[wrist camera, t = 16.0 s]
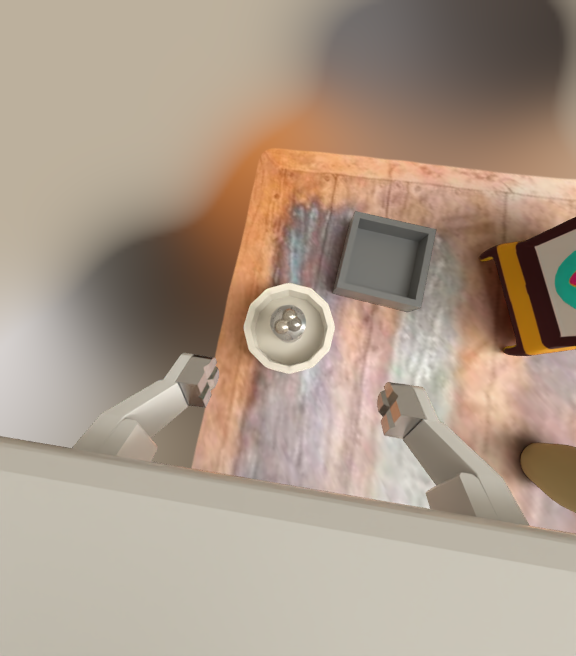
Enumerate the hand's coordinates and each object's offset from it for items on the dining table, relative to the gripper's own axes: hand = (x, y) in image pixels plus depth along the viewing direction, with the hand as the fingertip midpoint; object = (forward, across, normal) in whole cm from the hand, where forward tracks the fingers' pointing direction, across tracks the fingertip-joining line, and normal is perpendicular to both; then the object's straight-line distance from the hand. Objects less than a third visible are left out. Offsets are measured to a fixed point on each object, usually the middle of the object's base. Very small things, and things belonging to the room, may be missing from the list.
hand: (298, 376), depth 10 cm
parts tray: (+30, -12, +6) cm, 33 cm away
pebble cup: (+20, +2, +14) cm, 24 cm away
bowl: (+20, +2, +14) cm, 25 cm away
